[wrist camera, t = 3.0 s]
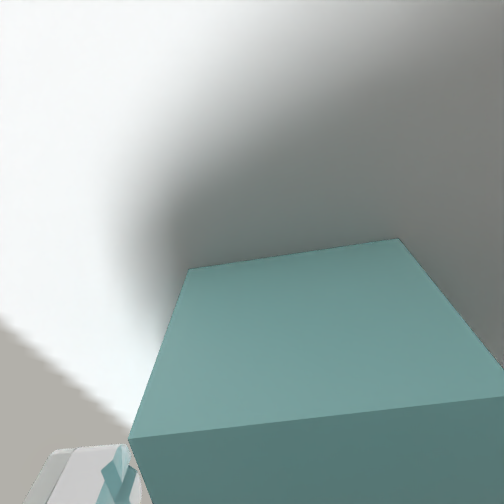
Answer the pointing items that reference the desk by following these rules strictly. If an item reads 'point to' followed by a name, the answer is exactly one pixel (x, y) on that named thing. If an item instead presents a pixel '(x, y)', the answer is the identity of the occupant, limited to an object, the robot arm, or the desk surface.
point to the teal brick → (321, 387)
